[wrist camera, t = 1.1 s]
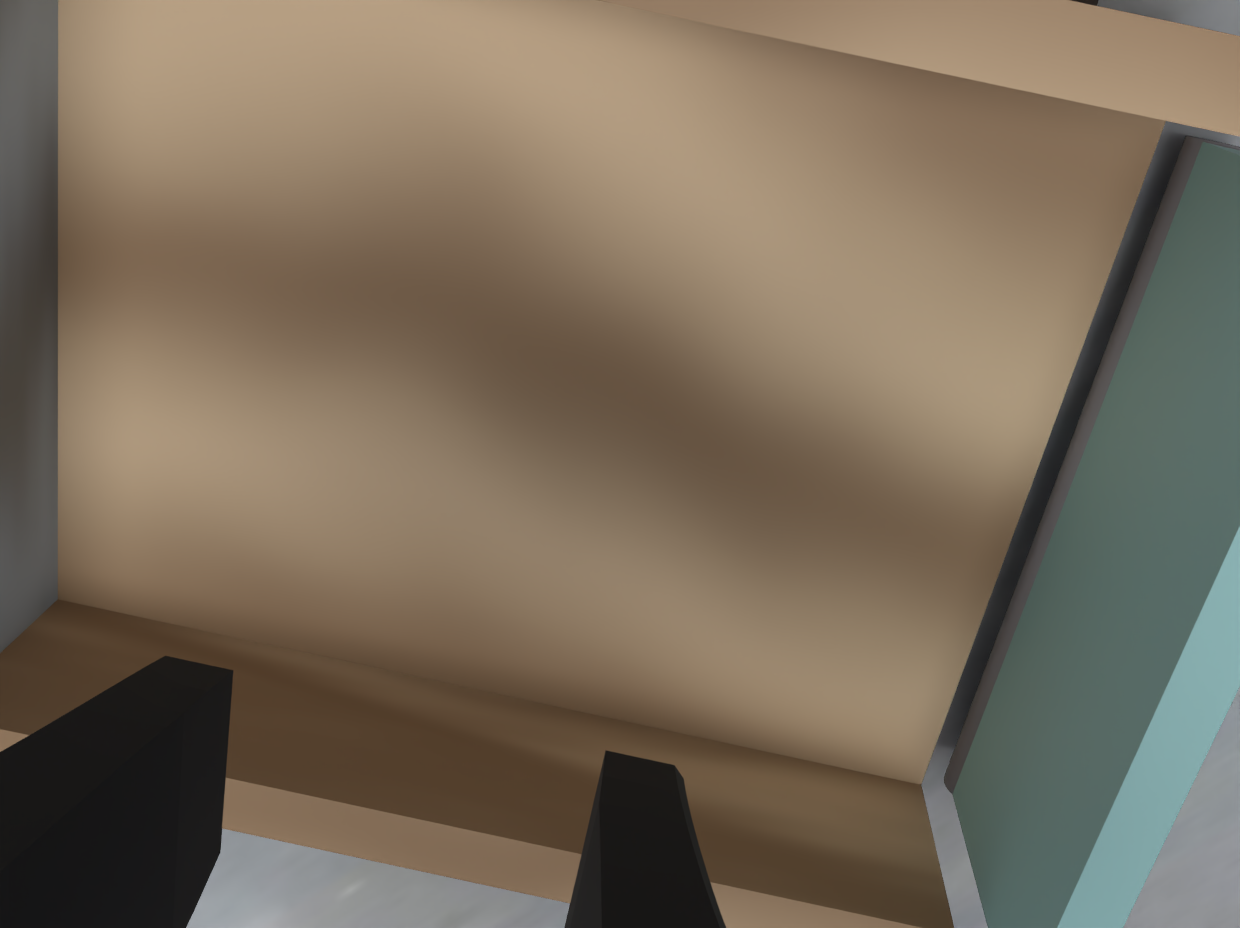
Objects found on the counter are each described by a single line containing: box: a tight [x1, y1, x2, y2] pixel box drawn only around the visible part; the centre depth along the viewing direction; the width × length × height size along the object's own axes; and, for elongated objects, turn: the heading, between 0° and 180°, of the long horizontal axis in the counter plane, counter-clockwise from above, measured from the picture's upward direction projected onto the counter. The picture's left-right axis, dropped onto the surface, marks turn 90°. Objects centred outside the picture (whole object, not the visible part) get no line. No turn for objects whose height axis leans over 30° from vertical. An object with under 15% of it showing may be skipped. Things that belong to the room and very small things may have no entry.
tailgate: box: [944, 136, 1240, 928], centre depth 17 cm, size 11×1×6 cm, turn 169°
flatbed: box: [0, 0, 1240, 928], centre depth 17 cm, size 16×20×7 cm
